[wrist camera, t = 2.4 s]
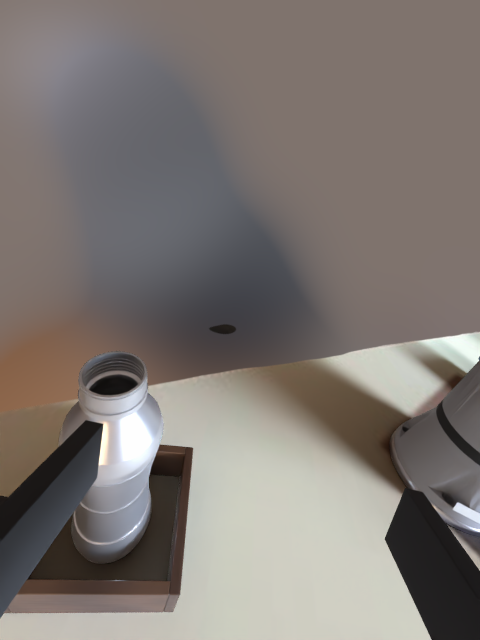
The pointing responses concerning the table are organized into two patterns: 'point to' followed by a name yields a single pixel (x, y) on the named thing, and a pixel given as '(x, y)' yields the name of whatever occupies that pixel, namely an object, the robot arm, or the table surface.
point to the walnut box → (120, 592)
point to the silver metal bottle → (115, 455)
